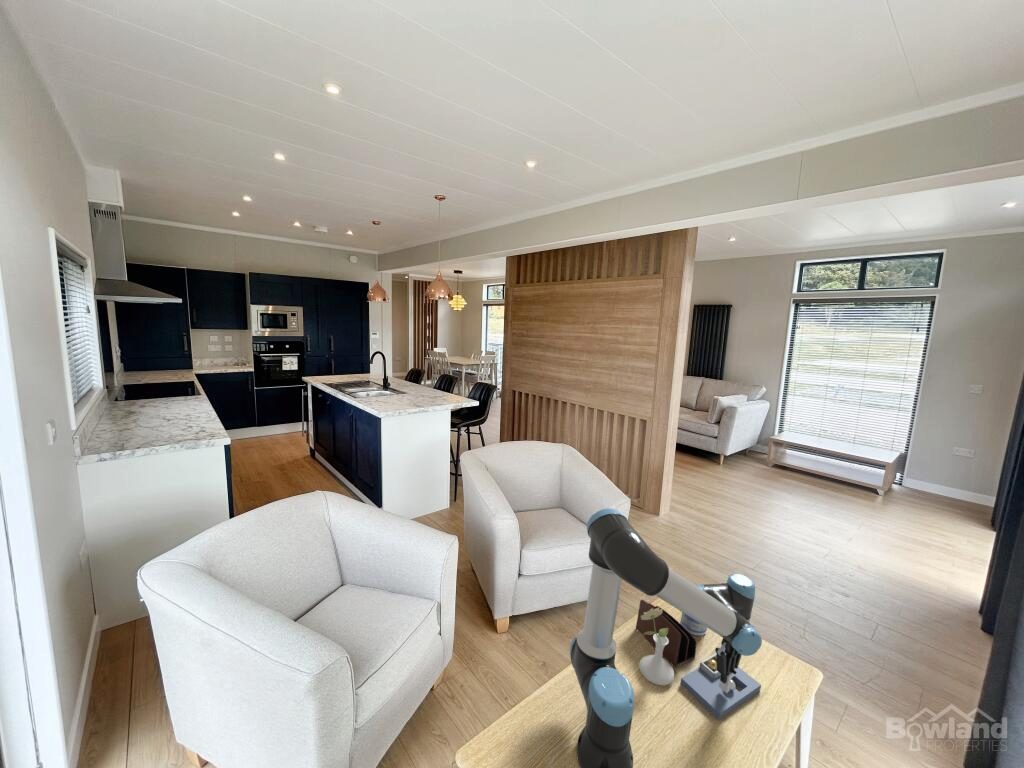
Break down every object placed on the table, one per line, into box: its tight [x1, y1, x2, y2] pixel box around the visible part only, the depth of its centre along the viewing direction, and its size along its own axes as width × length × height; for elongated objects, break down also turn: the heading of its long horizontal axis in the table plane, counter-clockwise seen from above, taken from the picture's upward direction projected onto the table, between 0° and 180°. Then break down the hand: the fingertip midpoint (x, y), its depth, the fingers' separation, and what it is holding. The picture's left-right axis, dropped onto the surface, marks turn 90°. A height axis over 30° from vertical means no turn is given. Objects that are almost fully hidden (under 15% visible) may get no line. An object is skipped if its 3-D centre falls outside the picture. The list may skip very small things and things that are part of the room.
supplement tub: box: [680, 612, 708, 636], centre depth 165 cm, size 10×10×15 cm
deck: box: [679, 652, 762, 721], centre depth 139 cm, size 22×14×4 cm, turn 120°
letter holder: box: [635, 599, 698, 669], centre depth 156 cm, size 10×20×14 cm, turn 26°
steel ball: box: [730, 680, 737, 691], centre depth 136 cm, size 3×3×3 cm
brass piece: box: [707, 659, 717, 672], centre depth 143 cm, size 4×4×4 cm
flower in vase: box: [638, 608, 675, 686], centre depth 141 cm, size 13×11×25 cm
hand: (724, 688), depth 134 cm, fingers closed
